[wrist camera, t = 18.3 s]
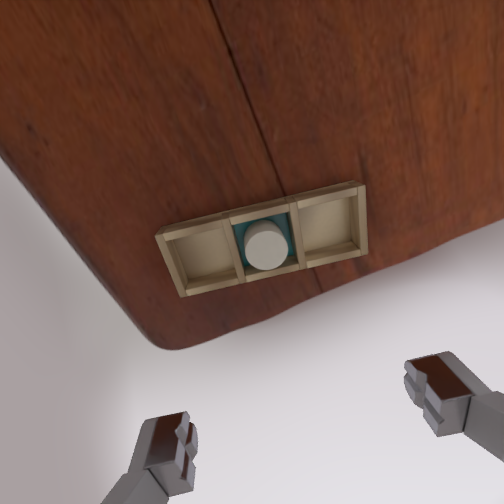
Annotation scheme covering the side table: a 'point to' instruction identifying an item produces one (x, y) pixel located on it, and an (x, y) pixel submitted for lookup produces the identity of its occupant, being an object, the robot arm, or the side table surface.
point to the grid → (291, 225)
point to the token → (265, 245)
